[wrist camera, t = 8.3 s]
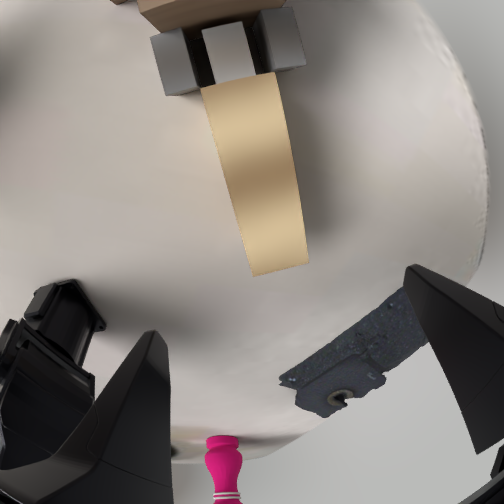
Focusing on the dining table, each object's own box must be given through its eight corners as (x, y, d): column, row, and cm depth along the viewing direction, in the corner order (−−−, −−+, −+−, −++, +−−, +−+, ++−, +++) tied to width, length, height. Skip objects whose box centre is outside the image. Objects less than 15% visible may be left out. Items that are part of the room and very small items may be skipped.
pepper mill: (196, 437, 43) (201, 528, 27) (228, 432, 42) (238, 528, 25) (216, 446, 47) (223, 527, 30) (246, 440, 46) (257, 526, 29)
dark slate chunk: (440, 321, 32) (455, 343, 28) (330, 400, 40) (337, 423, 36) (406, 272, 26) (429, 302, 22) (265, 380, 33) (270, 411, 29)
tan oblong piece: (290, 225, 21) (309, 262, 17) (245, 236, 21) (252, 276, 17) (248, 34, 13) (259, 13, 9) (193, 47, 13) (183, 30, 9)
